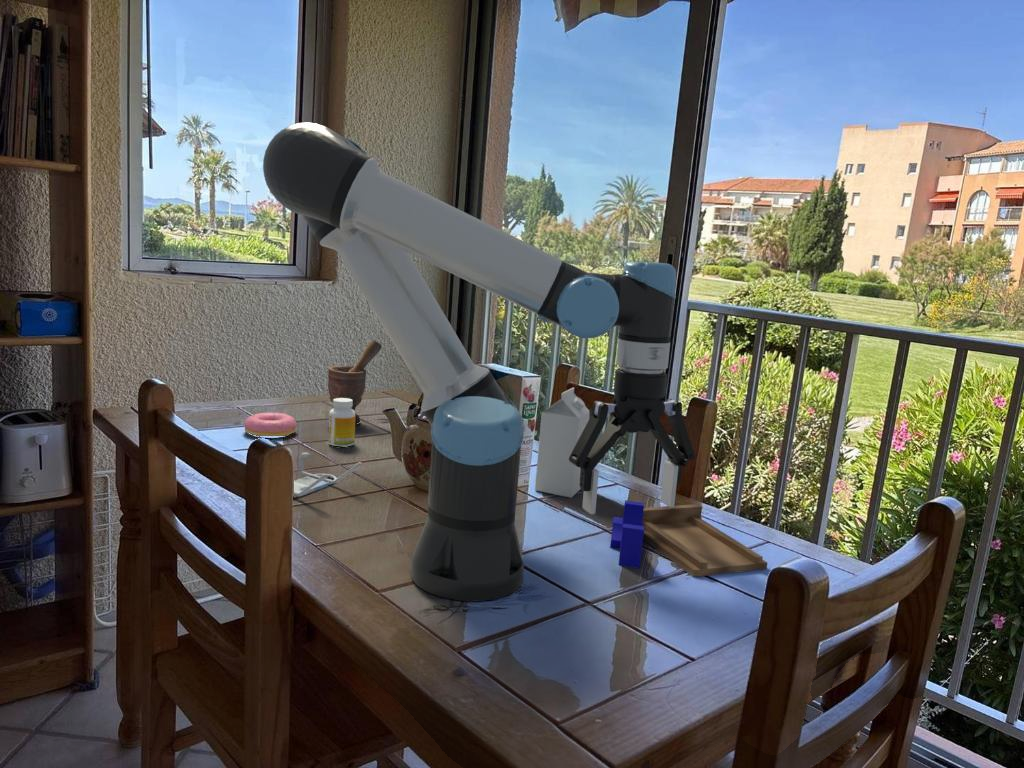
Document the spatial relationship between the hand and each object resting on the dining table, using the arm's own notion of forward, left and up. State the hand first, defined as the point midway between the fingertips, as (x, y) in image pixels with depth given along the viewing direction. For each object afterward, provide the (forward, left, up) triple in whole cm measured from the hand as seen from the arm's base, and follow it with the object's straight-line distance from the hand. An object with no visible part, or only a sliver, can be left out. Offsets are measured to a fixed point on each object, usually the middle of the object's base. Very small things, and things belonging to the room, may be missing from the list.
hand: (628, 507), depth 112 cm
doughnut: (-47, +71, -7) cm, 86 cm away
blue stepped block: (0, 0, -7) cm, 7 cm away
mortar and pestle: (-28, +79, -7) cm, 84 cm away
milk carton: (+2, +27, -7) cm, 28 cm away
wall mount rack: (-43, +33, -7) cm, 54 cm away
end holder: (+12, -2, -7) cm, 13 cm away
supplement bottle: (-33, +61, -7) cm, 70 cm away
